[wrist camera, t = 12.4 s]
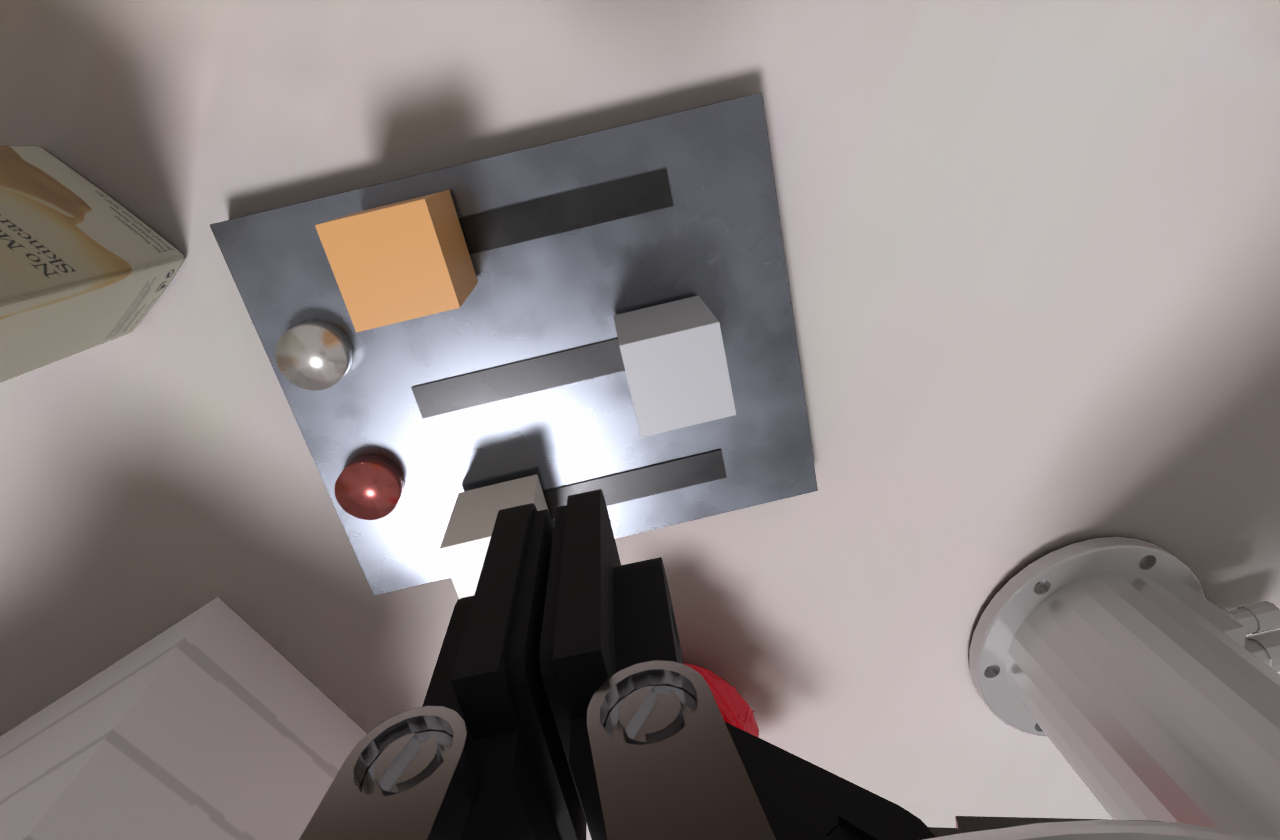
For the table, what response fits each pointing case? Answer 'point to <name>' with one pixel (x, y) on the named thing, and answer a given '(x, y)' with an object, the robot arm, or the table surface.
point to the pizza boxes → (178, 744)
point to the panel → (543, 337)
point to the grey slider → (675, 365)
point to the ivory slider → (481, 527)
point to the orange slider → (399, 260)
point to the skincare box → (69, 263)
